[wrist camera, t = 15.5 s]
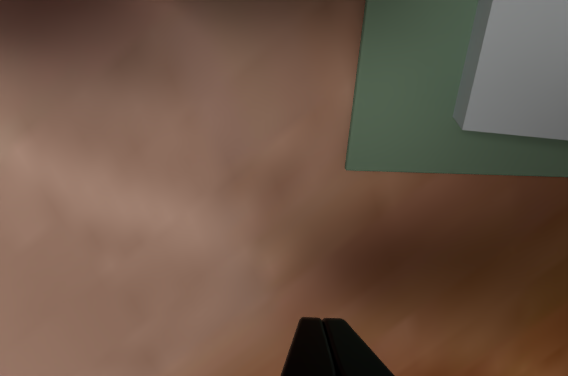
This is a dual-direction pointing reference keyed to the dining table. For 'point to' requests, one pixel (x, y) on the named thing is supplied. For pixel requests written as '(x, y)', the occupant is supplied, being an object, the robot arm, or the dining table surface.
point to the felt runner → (429, 99)
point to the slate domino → (516, 70)
